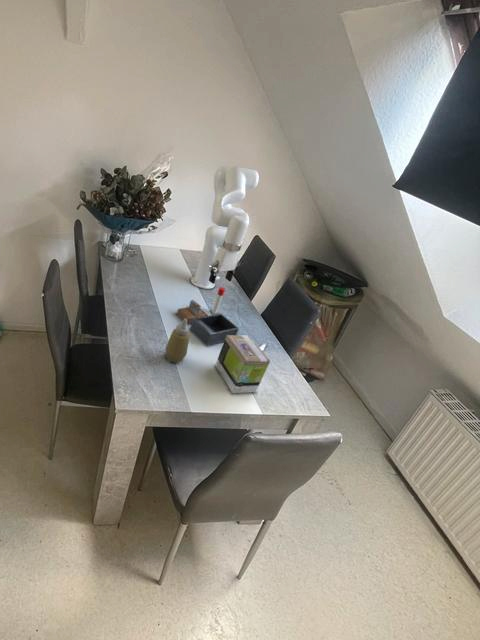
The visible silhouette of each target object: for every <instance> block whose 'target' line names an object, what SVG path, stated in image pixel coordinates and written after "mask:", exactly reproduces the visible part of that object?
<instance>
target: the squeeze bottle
mask: <svg viewBox="0 0 480 640" xmlns="http://www.w3.org/2000/svg"><path fill="white" fill-rule="evenodd" d="M189 331H190V328H189V326H188V324H187V319H184V320H182V322H181V323H179V324H177V325H176V327H175V328H174V329H173V330H172V332H171V334H170V337H169V338H168V341H167V343H166V346H165V354H166V359H167V360H168V361H169V362H171V363H175V364H179V363H181V362H182V361H183V359H184V358H185V357H186V356H187V353H188V348H189V342H190V337H191V334H190V333H189Z"/></svg>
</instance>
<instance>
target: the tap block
mask: <svg viewBox="0 0 480 640" xmlns="http://www.w3.org/2000/svg"><path fill="white" fill-rule="evenodd" d="M188 308H189V305H186V307H181V308H177V312H176V315H177V316H178V317H179V318H180V319H181V320H182V321H183V320H184V319H187V325H190V324H192V321H193V319H194V318H199V317H204V316H209V314H208V313H207V312H205V311H204V310H203V309H202V307H200V311H199V314H198V315H195V314H194V313H193V312H191V311H190V310H189V309H188Z"/></svg>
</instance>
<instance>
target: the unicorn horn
mask: <svg viewBox="0 0 480 640" xmlns="http://www.w3.org/2000/svg"><path fill="white" fill-rule="evenodd" d="M266 345H267V343H263V344H262V345H260V346H258V347H259V348H260V349H261V350H262V352H263V353H264V350H265V348H266Z"/></svg>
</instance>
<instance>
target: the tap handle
mask: <svg viewBox="0 0 480 640" xmlns="http://www.w3.org/2000/svg"><path fill="white" fill-rule="evenodd" d="M188 307H189V308H188V309H189V310H190V311H191V312H193V313H194V314H195V315H198V314H199V311H200V308H202V306H201V304H199V303H197V301H195V300H194V299H190V301H189V305H188Z"/></svg>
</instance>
